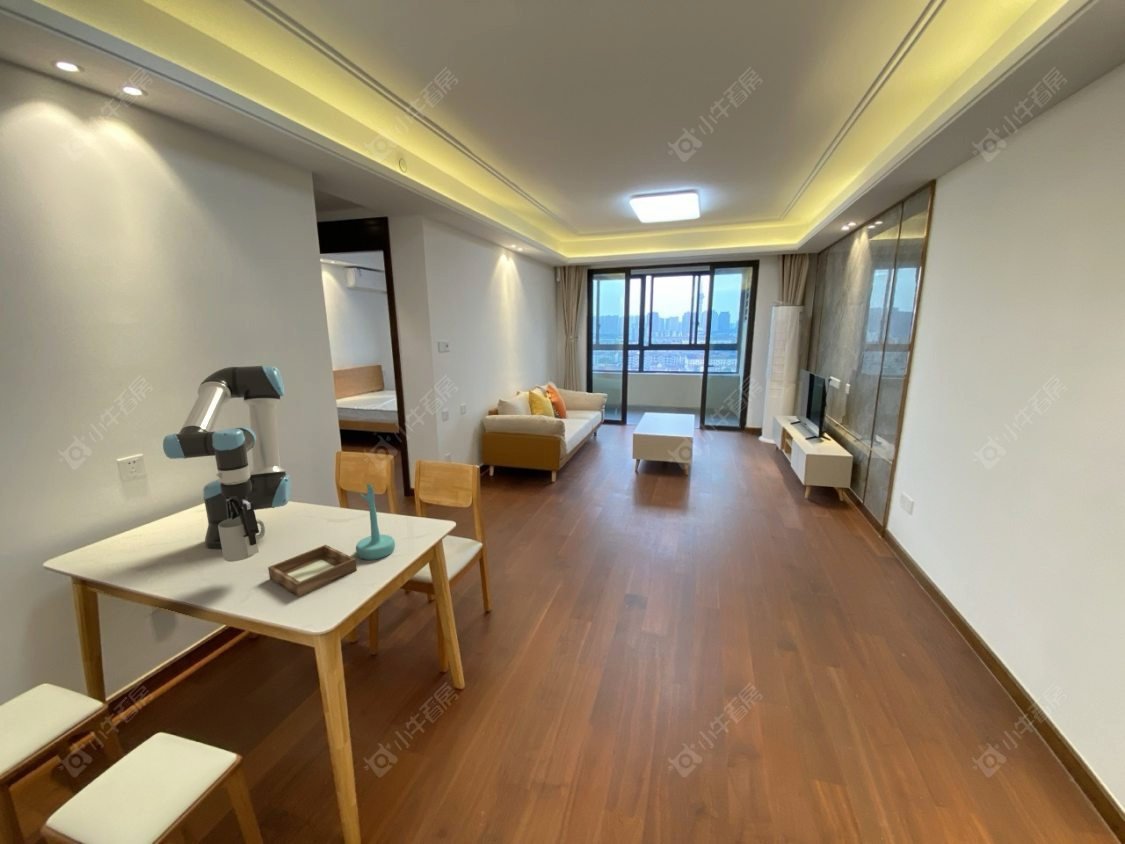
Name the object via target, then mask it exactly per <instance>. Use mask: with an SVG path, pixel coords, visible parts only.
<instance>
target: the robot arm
mask: <svg viewBox="0 0 1125 844" xmlns="http://www.w3.org/2000/svg"><path fill="white" fill-rule="evenodd" d="M281 374H282V373H281V372H280V370H279V368H278V367H276V366H273V365H271V366H269V365H257V366H254V365H253V366H250V365H249V366H229V367H224V368H222V369H219V370H216V371H215V372H213V373H211V374H210V375H208V376H207V377H206V378H205V379H204V380H203V381H201V383H200V385H199V386H198V389H197V395H198V396H197V399H196V400H195V402H194V403H193V406H192V408H191V409H190V411H189V414H188V416H187V418H186V419H185V421H184V424H183V425H182V428H181V429H180V431H179V432H178V433H172V434H168V435H166V436H164V438H163V442H162V447H163V448H162V449H163V452H164V454H165V456H166V457H167V458H168V459H169V460H170V459H173V460H174V459H177V460H178V459H184V460H186V459H190V458H202V457H210V456H211V457H213V456H215V457H214V458H215V463H216V467H217V469H216V470H217V473H216V477H218V478H217V479H215V480H213V481H210V482H208V483H207V484H206V485H204V487H203V498H202V499H203V500H204V506H205V510H206V517H207V523H208V524H207V529H206V534H205V539H204V543H205V546H206V548H209V549H215V550H216V549H222V546H221V541H220V535H219V529H218V525H219V523H221V522H222V521H224V520H227V519H230V518H232V520H233V519H235V518H236V517H239V516H240V518H241V521H242V524H243V526H244V530H245V533H246V535H244V537H245V541H246V547H247V553H248V556H250V555H253V554H254V555H256V554H258V553H259V551H260V550H259V546H258V540H257V538H256V535H258V534H260V529H259V526H258V525H259V524H257V521H256V519H257V517H256V513H255V511H257V510H264V509H265V510H266V509H274V508H279V507H284V506H286V505H288V503H289V501H290V498H291V492H292V476H291V475H289V474H286V470H285V469H284V468H283V467H281V458H280V444H279V442H280V441H279V427H278V426H279V425H278V415H277V405H278V404H279V403H280V402H281V397H283V396H285V394H286V391H285V390H286V389H285V385H284V384H285V383H284V380H283V377H282V375H281ZM237 398H238V399H243V402H244V403H245V404H246V405H247V406H248V408H249V425H250V428H249V427H245V426H239V427H236V428H224V429H221V430H216V431H215V430H214V428H215V425H216V423H217V421H218V419H219V417H220V415H221V412H222V410H223V407H224V405H225V404H227V403H228V402H229V401H230V399H237ZM213 430H214V431H213ZM250 450H251V453H252V471H250V470H251V469H250V464H249V461H248V454H247V453H248V452H249V451H250ZM254 555H253V556H254Z"/></svg>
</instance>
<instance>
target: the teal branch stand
mask: <svg viewBox="0 0 1125 844" xmlns="http://www.w3.org/2000/svg"><path fill="white" fill-rule="evenodd" d="M366 487H367V489H366V490H367V494H366V495H364V494H362V493H360V494H359V495H360V496H361V497H362V498H363V500H365V501H366V502H368V505H369V519H370V522H369V523H370V536H366V537H365V538H362V539H360V540H359V541H357V543H356V546H355V552H356V555H357V557H358V558H360V559H362V560H366V561H371V560H372V561H373V560H379V559H383V558H385V557H387V556H389V555H391V554H392V553H393V552H394V550H395V547H396V546H395V545H396V542H395V539H394V538H393V536H391V535H389V534H380V529H379V526H378V525H379V524H378V515H377V509H376V505H375V493H374V487H373V486H372V484H370V483H366Z"/></svg>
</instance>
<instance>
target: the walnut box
mask: <svg viewBox="0 0 1125 844" xmlns="http://www.w3.org/2000/svg"><path fill="white" fill-rule="evenodd" d="M267 569H268V570H267V571H268V577H269V580H271V581H272V582H273V583H276V584H278V585H279V586H280V587H282V588H283V589H285V590H286V591H288V592H290V593H292V594H293V595H294V596H296V597H297V598H301V597H303V596H304V595H306V594H307V595H308V594H310V593H312V592H314V591H315V590H318V589H320V588H322V587H324V586H326V585H329V584H331V583H333V582H335V581H338V580H339V579H342V578H343V577H346V576H348V575H350V574H352V573H355V572H356V571H357V559H356V558H355V557H352V556H351V555H348V554H346V553H344V552H341V550H340V551H339V550H338V549H335V548H334V547H331V546H330V545H327V544H324V545H321V546H319V547H316V548H314V549H311V550H308V551H306V552H304V553H300V554H298V555H296V556H293V557H290V558H289V559H285V560H283V561H281V562H278V563H275V564H272V565H271V566H268V567H267ZM357 572H358V571H357Z"/></svg>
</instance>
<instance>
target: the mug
mask: <svg viewBox="0 0 1125 844" xmlns="http://www.w3.org/2000/svg"><path fill="white" fill-rule="evenodd" d="M256 521H257V525H259V526H260V531H259V533H258V534H256V538H257V541H259V540H261V539H262V538H263V537H264V536H265V533H266V525H265V523H264V521H263V520H262V519H259V518H256ZM218 529H219V535H220V541H221V546H222V548H221V551H222V558H223V560H224V561H226V562H231V563H232V562H238V561H239V562H240V561H243V560H247V559H248V558H251V557H252V556H254V555H255V554H253V555H250V556H248V553H247V547H246V541H245V537H244V535H246V533H245V530H244V526H243V524H242V521H241V518H240V516H239V517H236V518H235V519H233V520H232V518H230V519H227V520H224V521H222V522H221V523H219V525H218Z"/></svg>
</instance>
